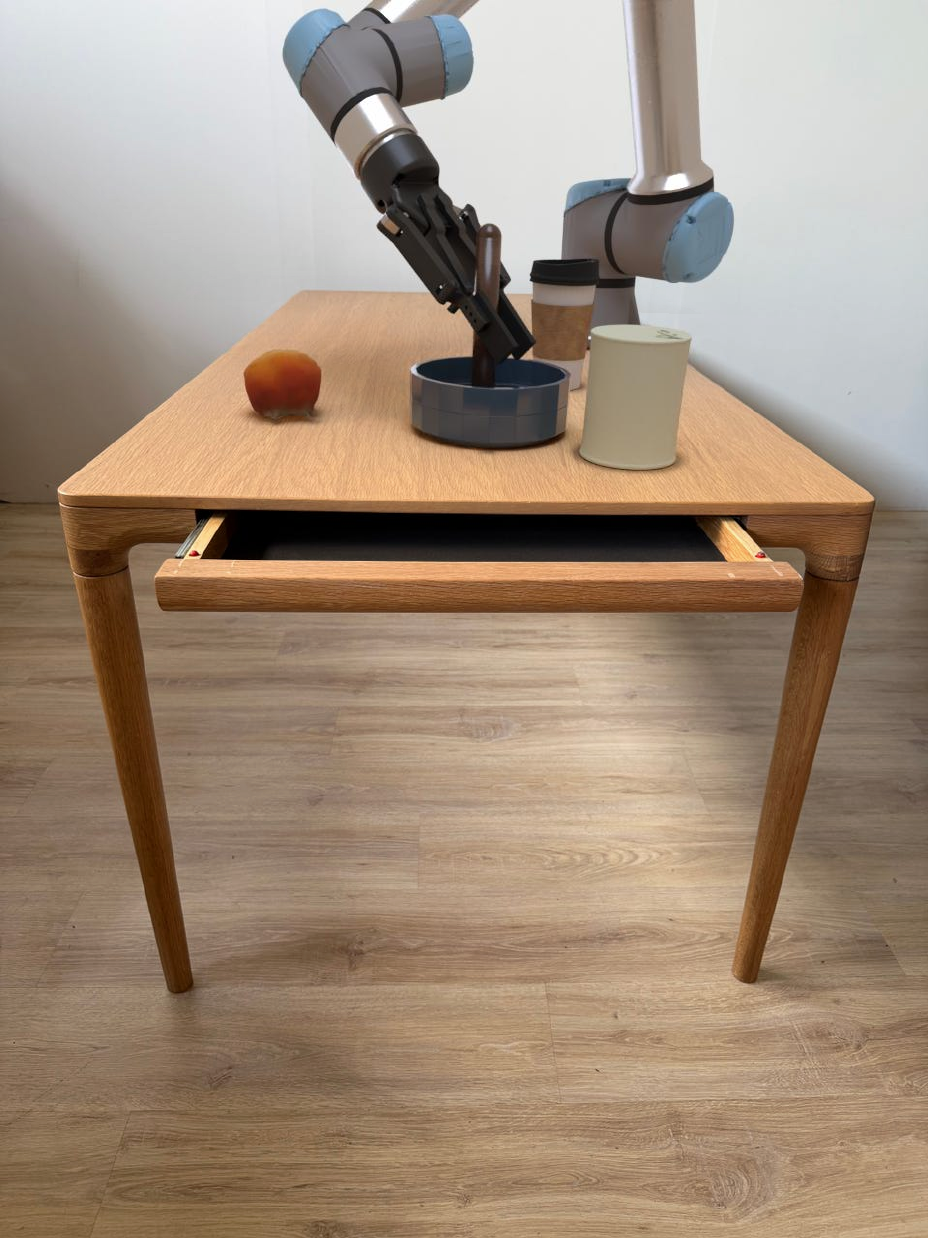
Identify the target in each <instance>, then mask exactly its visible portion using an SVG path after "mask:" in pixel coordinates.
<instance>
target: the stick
mask: <svg viewBox="0 0 928 1238" xmlns="http://www.w3.org/2000/svg"><path fill="white" fill-rule="evenodd" d="M502 237H503V236H502V232H501V230H500V228H499V227H498V226H497V225H496V224H494V223H490V222H487V223H484V224H482V225H481V227H480V228H479V230H478V232H477V236H476V265H475V291H474V293H473V295H475V294H476V293H477V292H478V291H483V292H484V294H485V295H486V297H487V298H488V300H489V301H490V303H491V304H492V306H493V308H494V309H495V311H496V312H497V314H498V305H499V284H500V262H502V239H503V238H502ZM471 356H472V380H471V386H476V387H490V388H495V370H496V362H495V360H494V359H493V357H492V356H491V354H490V353H489V351H488V350H487V348H486V347H485V345H484V343H483V342H482V340H481V339H480V337H479V336H478V334H477V333H476V331H475V330H474V329H473V328H472V354H471Z"/></svg>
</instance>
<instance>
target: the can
mask: <svg viewBox="0 0 928 1238" xmlns="http://www.w3.org/2000/svg"><path fill="white" fill-rule="evenodd" d="M692 340H693V336H692V334H690V333H689V332H688V331H687V332H686V331H684V330H679V329H676V328H670V327H666V326H665V327H664V326H655V325H643V324H641V325H606V326H599V327H595V328H593V329H592V330H591V344H590V348H589V357H588V358H589V359H588V371H587V383H586V393H585V394H586V395H585V405H584V415H583V427H582V435H581V443H580V447H579V450H578V451H579V455H580V456H581V457H582V459H584V460H586V461H588V462H590V463H593V464H595V465H598V466H601V467H602V466H603V467H606V468H611V469H621V470H630V471H633V470H634V471H647V470H657V469H662V468H667V467H670V466H671V465H673V464H674V463H675V462H676V461H677V453H676V452H677V451H676V450H677V440H678V433H679V432H678V431H679V425H680V424H679V423H680V418H681V409H682V403H683V395H684V388H685V382H686V376H687V375H686V374H687V368H688V363H689V362H688V361H689V354H690V348H691V343H692Z"/></svg>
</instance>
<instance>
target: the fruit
mask: <svg viewBox="0 0 928 1238" xmlns="http://www.w3.org/2000/svg"><path fill="white" fill-rule="evenodd" d="M243 379H244V380H243V381H244V387H245V392H246V394H247V395H246V396H247V397H248V400H249V402H250V405H251V407H252V409H253V410H254V411H255V413H257V414H258V415H259V416H261V417H263V418H271V419H273V420H275V421H277V420H278V419H280V418H282V417H288V416H301V417H302V416H303V417H307V418H308V419H310V420H311V421H312V422H314V420H313V418H312V416H311V415H310V413H311V412H313V411H314V409H315V405H316V403H317V401H318V399H319V397H320V390H321V384H322V369H321V367H320V366H319V364H318V362H317V361H316V360H314V358H312V357H310V355H308V354H307V353H305V352H300V351H298V350H296V349H286V348H285V349H281V348H279V349H277V348H276V349H271V350H268V351H266V352H264V353H262V354H261V355H259V357H257V358H255V359H253V360H252V361H251V362H250V363H249V364H247V366H246V367H245V369H244V371H243Z"/></svg>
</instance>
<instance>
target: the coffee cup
mask: <svg viewBox="0 0 928 1238" xmlns="http://www.w3.org/2000/svg"><path fill="white" fill-rule="evenodd" d="M529 277H530V278H529V282H530V283H532V299H531V300H530V309H531V311H530V312H531V315H530V316H531V334H532V336H533V337H534V339H535V341H536V342H537V343H536V344H535V345H534V346H533V347H532V348H531V350H532V360H536V361H540V362H545V363H550V364H553V365H556V366H559V367H561V368H564V369H566V370H567V371H568V372H569V373H571V387H570V391H574V390H578V389H579V388H580V387H581V381H582V376H583V370H584V363H585V358H586V353H587V349H588V348H587V343H588V337H589V332H590V326H591V321H592V315H593V310H594V304H595V303H594V302H593V300H594V294H595V288H596V285H598V284H599V279H600V276H599V260H598V259H592V258H587V259H555V258H554V259H553V258H552V259H550V258H549V259H535V260H532V267H531V270H530V272H529Z"/></svg>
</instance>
